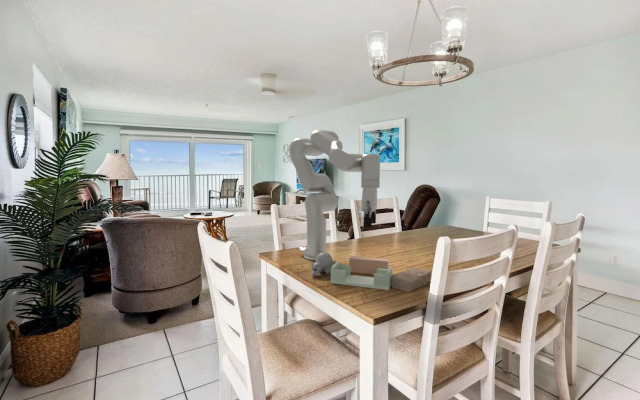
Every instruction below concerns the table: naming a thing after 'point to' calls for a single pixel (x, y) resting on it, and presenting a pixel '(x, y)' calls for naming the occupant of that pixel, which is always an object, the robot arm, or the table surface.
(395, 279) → the brick
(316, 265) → the chubby cartoon animal
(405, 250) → the table surface
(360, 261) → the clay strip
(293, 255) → the table surface
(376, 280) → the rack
